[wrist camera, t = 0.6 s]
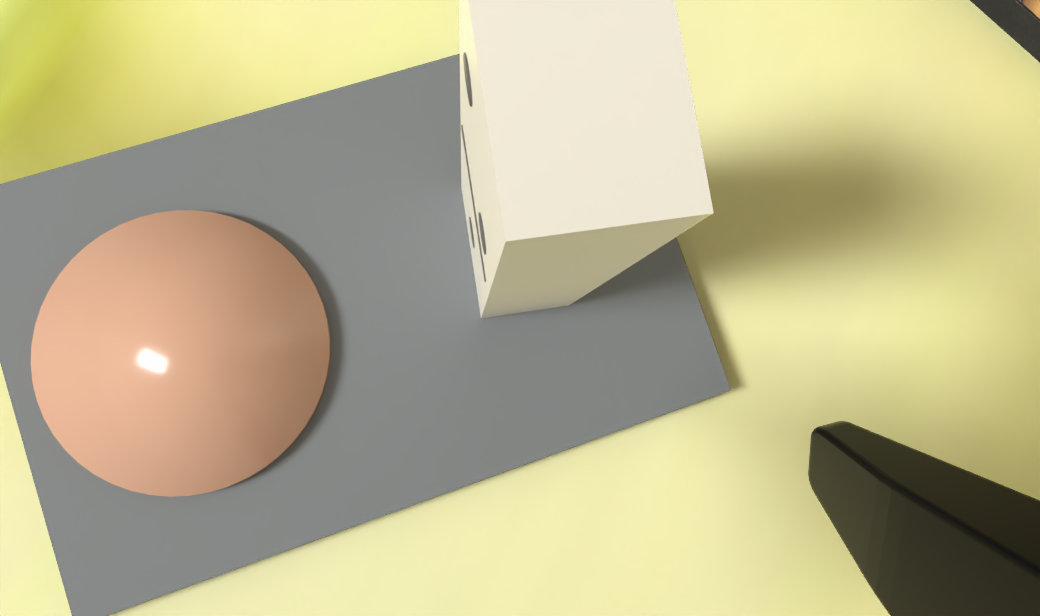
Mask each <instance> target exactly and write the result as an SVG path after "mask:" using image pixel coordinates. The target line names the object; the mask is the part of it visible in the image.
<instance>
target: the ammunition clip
mask: <svg viewBox="0 0 1040 616" xmlns="http://www.w3.org/2000/svg"><path fill="white" fill-rule="evenodd" d="M970 1H971V2H972V3H974V4H975V5H976V6H977V7H978V8H979V9H980V10H981V11H983V12H984V13H985V14H986V15H987V16H988V17H989V18H990V19H992V20H993V21H994V22H995V23H996V24H997V25H998V26H999V27H1001V28H1002V29H1003V30H1004V31H1005V32H1006V33H1007V34H1008V35H1010V36H1011V37H1012V38H1013V39H1014V40H1015V41H1016V42H1017V43H1019V44H1020V45H1021V46H1022V47H1023V48H1024V49H1025V50H1026V51H1028V52H1029V53H1030V54H1031V55H1032V56H1033V57H1034V58H1035V59H1037V60H1038V61H1039V62H1040V0H970Z"/></svg>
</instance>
